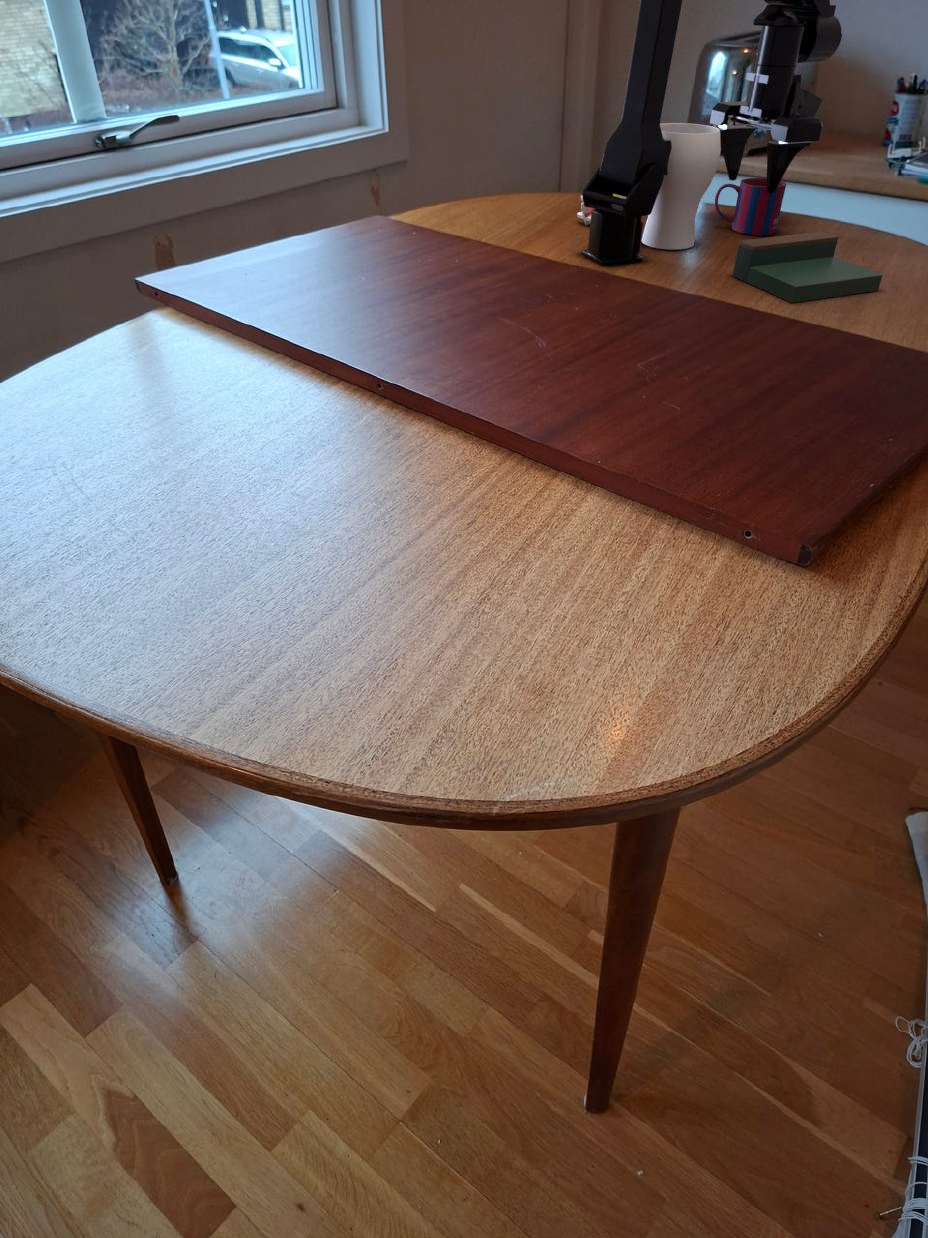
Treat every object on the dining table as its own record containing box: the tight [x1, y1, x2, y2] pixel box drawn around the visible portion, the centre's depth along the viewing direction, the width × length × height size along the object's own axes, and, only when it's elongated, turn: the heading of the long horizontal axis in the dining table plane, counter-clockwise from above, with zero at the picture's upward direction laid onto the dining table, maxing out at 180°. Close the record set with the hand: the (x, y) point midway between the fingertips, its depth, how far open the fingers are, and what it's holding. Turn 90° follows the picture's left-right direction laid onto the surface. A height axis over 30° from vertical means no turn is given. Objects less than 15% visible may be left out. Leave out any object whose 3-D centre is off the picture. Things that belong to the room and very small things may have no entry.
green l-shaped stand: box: [732, 230, 883, 304], centre depth 110 cm, size 14×12×4 cm
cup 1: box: [641, 122, 722, 251], centre depth 122 cm, size 11×11×15 cm
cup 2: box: [714, 177, 787, 236], centre depth 131 cm, size 7×10×7 cm
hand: (751, 185), depth 130 cm, fingers open, 9 cm apart
